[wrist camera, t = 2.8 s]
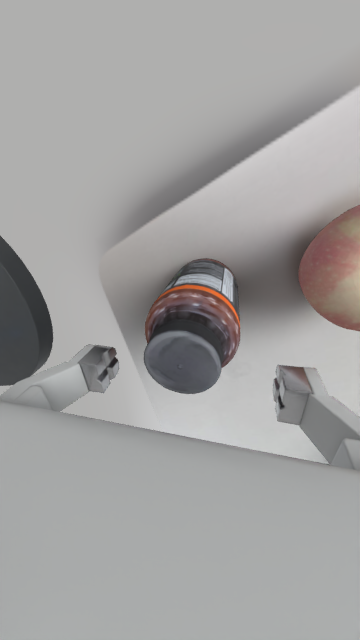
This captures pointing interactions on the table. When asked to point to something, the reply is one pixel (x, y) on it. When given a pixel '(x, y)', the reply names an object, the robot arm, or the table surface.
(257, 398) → the table surface
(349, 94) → the table surface
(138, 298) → the table surface
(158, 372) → the supplement bottle
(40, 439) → the robot arm
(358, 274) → the apple
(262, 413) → the table surface
